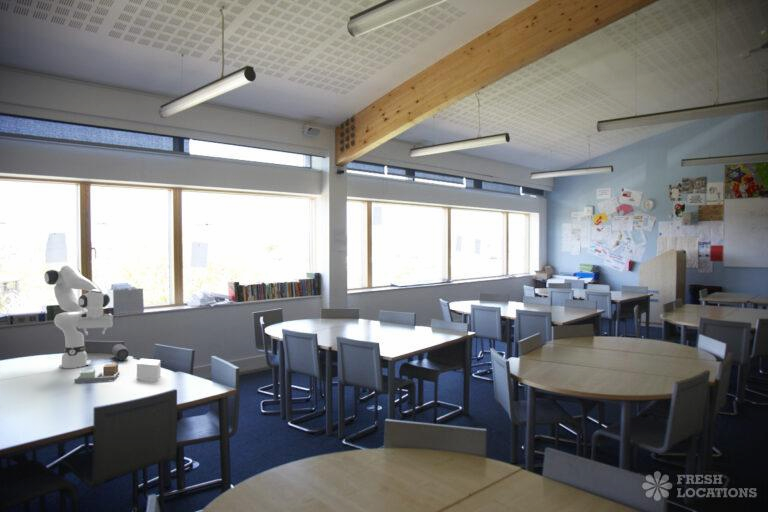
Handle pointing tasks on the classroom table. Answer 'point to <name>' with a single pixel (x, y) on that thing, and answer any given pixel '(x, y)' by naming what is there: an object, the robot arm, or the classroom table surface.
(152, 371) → the white rectangular box
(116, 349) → the bluetooth speaker
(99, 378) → the lane rack
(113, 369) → the walnut block
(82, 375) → the sage block
